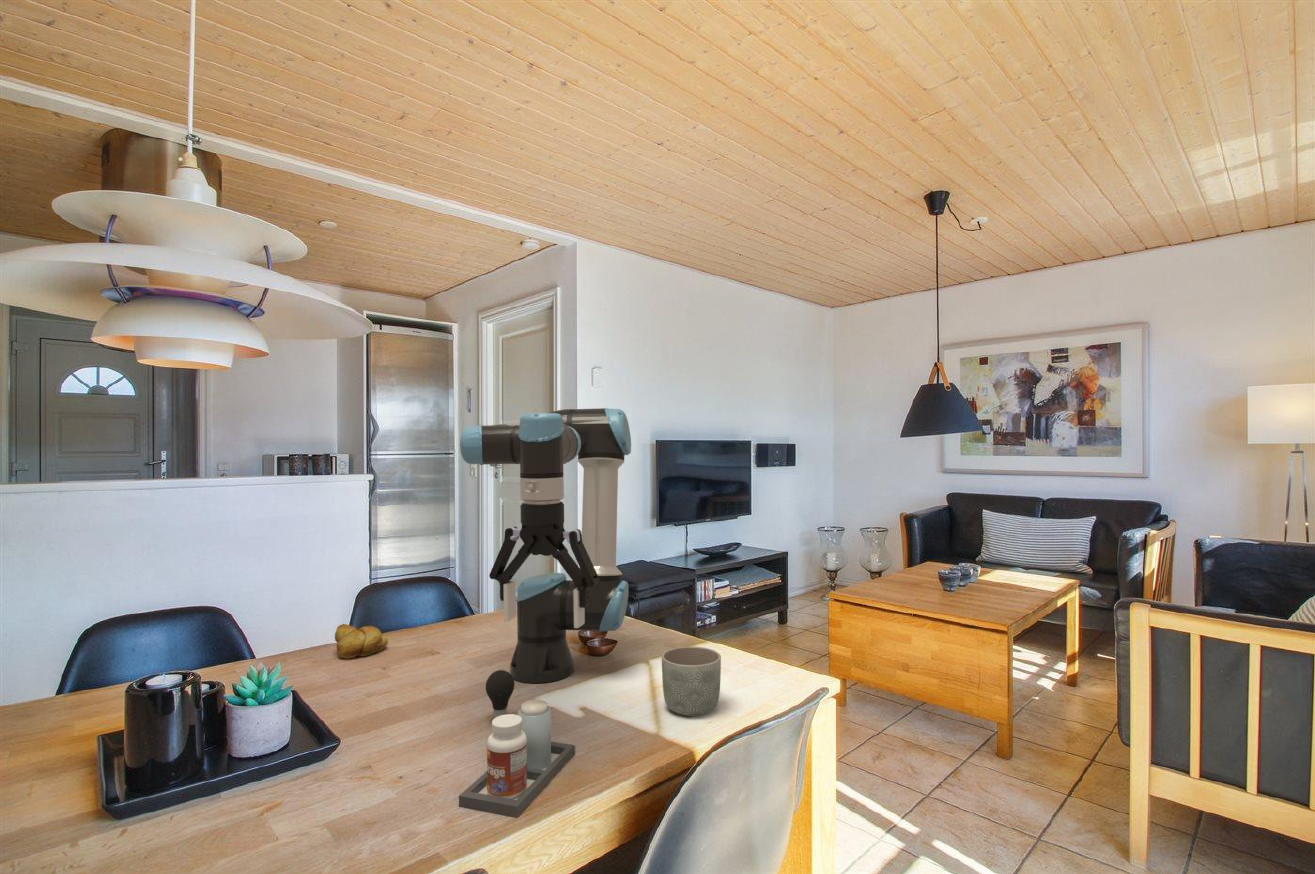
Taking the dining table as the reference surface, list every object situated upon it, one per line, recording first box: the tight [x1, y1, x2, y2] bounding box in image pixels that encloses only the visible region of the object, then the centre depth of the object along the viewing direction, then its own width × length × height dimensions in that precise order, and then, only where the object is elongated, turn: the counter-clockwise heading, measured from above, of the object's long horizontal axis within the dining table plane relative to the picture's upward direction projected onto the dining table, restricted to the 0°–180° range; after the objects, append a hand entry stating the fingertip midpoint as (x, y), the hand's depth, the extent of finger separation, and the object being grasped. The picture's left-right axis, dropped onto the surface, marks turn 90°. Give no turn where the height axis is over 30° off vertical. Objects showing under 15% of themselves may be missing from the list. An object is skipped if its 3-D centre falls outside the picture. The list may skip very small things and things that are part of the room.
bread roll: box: [334, 623, 389, 659], centre depth 168 cm, size 13×10×8 cm
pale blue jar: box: [517, 699, 552, 770], centre depth 108 cm, size 6×6×10 cm
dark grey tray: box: [458, 741, 576, 818], centre depth 104 cm, size 10×20×2 cm, turn 163°
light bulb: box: [485, 669, 515, 719], centre depth 126 cm, size 6×6×10 cm
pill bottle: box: [486, 713, 527, 799], centre depth 100 cm, size 6×6×11 cm
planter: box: [661, 645, 722, 717], centre depth 131 cm, size 12×12×11 cm
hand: (544, 622), depth 110 cm, fingers open, 13 cm apart
